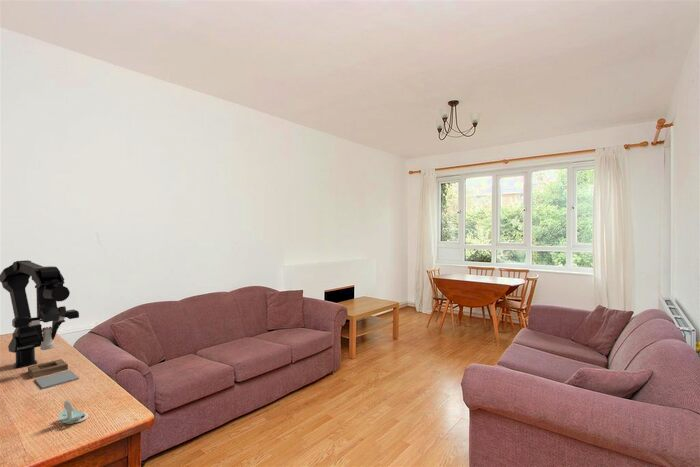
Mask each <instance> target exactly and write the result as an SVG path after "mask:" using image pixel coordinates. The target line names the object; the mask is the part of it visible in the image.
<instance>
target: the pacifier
mask: <svg viewBox="0 0 700 467" xmlns="http://www.w3.org/2000/svg"><path fill="white" fill-rule="evenodd" d="M63 408H64V410H62V411H61V412H60V413H59V414H58V420H59V421H61V422H62V424H67V425H73V424H76V423H82V422H84V421H85V420H87V419H88V418H89V414H88V413H87V412H83V411H81V410H79V409H77V408H76V409H75V408H74V407H73V405H72V402H71V401H70V400H69V399H66V400H65V402H64V404H63ZM81 417H82V418H81Z"/></svg>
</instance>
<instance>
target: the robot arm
mask: <svg viewBox="0 0 700 467" xmlns="http://www.w3.org/2000/svg"><path fill="white" fill-rule="evenodd" d="M30 278H31V280H32V281H33V282H34V284H35V285H34V288H35V289H36V291H35V292H36V316H35V317H32V314H31V310H30V304H29V299H28V295H27V291H26V288H27V286H28V285H29V283H30ZM0 283H1V286H2V288H3V289H4V290H6V291H7V292H8V293H9V295H10V300H11V301H10V302H11V305H12V311H13V315H14V318H13V319H12V320H11V326H12V328H15V329H14V330H13V333H12V338H11V341H9V344H8V347H7V348H8V352H10V353H12V354H13V353H15V362H14V363H13V364H12V365H13V366H14V368H15V369H17V368H22V367H28V366H33V365H37V364H39V363H38V362H39V361H38V360H37V359H36V348H41V347H40V345H41V344H42V342H43V332H42V330H43V327H42V324H41V322H42V323H49V322H51V323H52V324H51V327H52V329H53V330H52V331H51V333H52V340H53V341H54V339H55V337H56V335H57V331H58V330H59V328H60V327H61V325H62V323H66V320H65V318H67V319H68V320H72V319H78V318H80V312H79V311H78V310H76V309H67V308H66V307H67V306H65V305H64V306H59V307H58V304H57V302H58V303H59V302H64V301H66V300H67V299H68V298H69V297H70V295H71V293H70V292H71V291H70V290H69V288H68V287H67V286H65V285H64V284H65V277H64V276H63V274H62V273H61V271H60V269H59V268H58V267H57V266H50V265H49V266H44V265H40V264H38V263H35V262H32V260H27V259H26V260H16V261H14V262H13V263H12V264H11V265H9V266H7V267H5V268H4V269H2V271H1V273H0Z"/></svg>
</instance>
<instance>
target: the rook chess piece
mask: <svg viewBox="0 0 700 467" xmlns="http://www.w3.org/2000/svg"><path fill="white" fill-rule="evenodd" d="M52 330H53V329H52V326H46V327H42V334H43V342H42V343H41V345H40V347H39V349H40V350H41V351H47V350H51V349H54V348H55V347H56V345H55V344H56V342H55V341H54V340H52Z"/></svg>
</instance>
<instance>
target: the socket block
mask: <svg viewBox="0 0 700 467" xmlns="http://www.w3.org/2000/svg"><path fill="white" fill-rule="evenodd" d="M68 370H69V365H68V363H67V362H66V361H64V360H63V359H62V358H60V359H55V360H51V361H46V362H43V363H42V362H41V363H36V364H32V365H28V366H27V373H28V375H30V376H31V378H32V379H37V378H41V377H45V376H49V375H52V374H56V373H60V372H64V371H68Z"/></svg>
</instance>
